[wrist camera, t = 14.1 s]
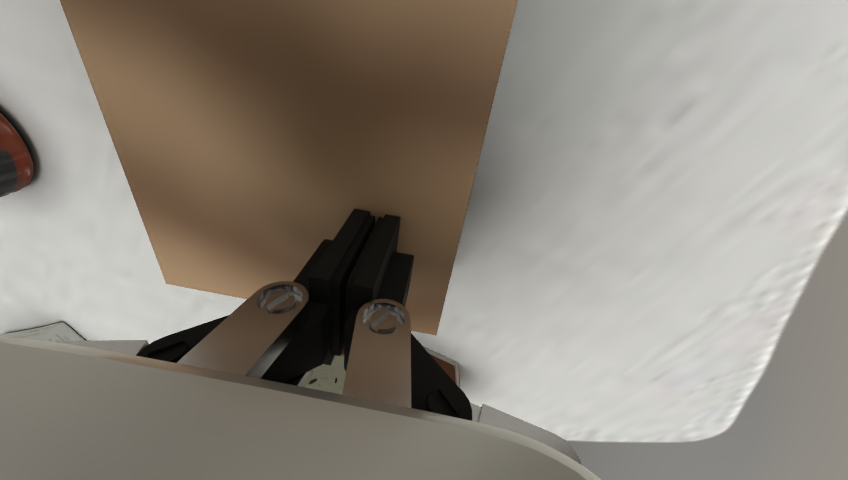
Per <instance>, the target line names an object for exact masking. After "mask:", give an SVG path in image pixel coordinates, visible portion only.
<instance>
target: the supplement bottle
mask: <svg viewBox="0 0 848 480" xmlns="http://www.w3.org/2000/svg"><path fill="white" fill-rule="evenodd" d="M32 175H33V163H32V159H31V156H30V153H29V151H28V149H27V147H26V145H25V143H24V142H23V140H22V138H21V137H20V135H19V134H18V132H17V131H16V130H15V129H14V127H13V126H12V124H11V123H10V122H9V121H8V120H7V119H6V118H5V117H4V116H3V115H2V114H1V113H0V197H2V196H5V195H8V194H9V193H12V192H16V191H18V190H20V189H22V188H24V187H25V186H26V185H28V184H29V183H30V181H31V179H32Z"/></svg>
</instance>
